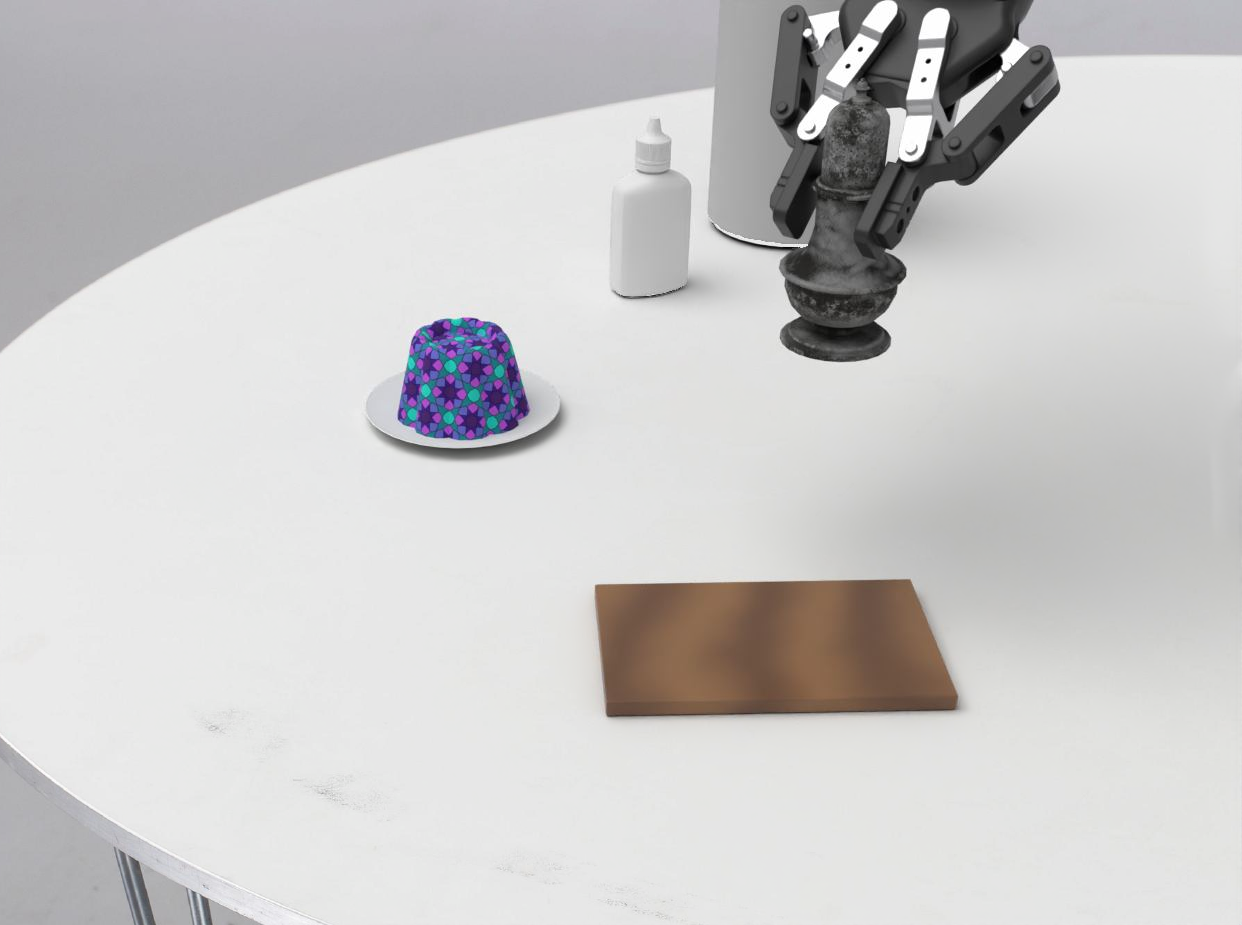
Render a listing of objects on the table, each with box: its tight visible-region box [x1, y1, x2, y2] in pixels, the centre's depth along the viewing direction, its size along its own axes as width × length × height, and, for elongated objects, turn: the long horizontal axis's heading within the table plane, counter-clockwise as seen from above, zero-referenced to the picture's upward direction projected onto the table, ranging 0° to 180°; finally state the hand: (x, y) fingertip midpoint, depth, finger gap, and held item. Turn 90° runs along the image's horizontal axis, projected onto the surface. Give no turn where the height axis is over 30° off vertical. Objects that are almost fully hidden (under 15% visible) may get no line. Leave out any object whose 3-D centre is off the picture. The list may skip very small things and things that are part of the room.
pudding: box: [364, 316, 561, 449], centre depth 93 cm, size 12×12×5 cm
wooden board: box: [594, 578, 959, 717], centre depth 74 cm, size 16×10×1 cm, turn 92°
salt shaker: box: [778, 78, 908, 363], centre depth 70 cm, size 6×6×12 cm
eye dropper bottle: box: [608, 115, 693, 297], centre depth 107 cm, size 4×6×12 cm
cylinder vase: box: [707, 0, 845, 244], centre depth 114 cm, size 12×12×25 cm
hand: (825, 238), depth 69 cm, fingers closed on salt shaker, 3 cm apart
